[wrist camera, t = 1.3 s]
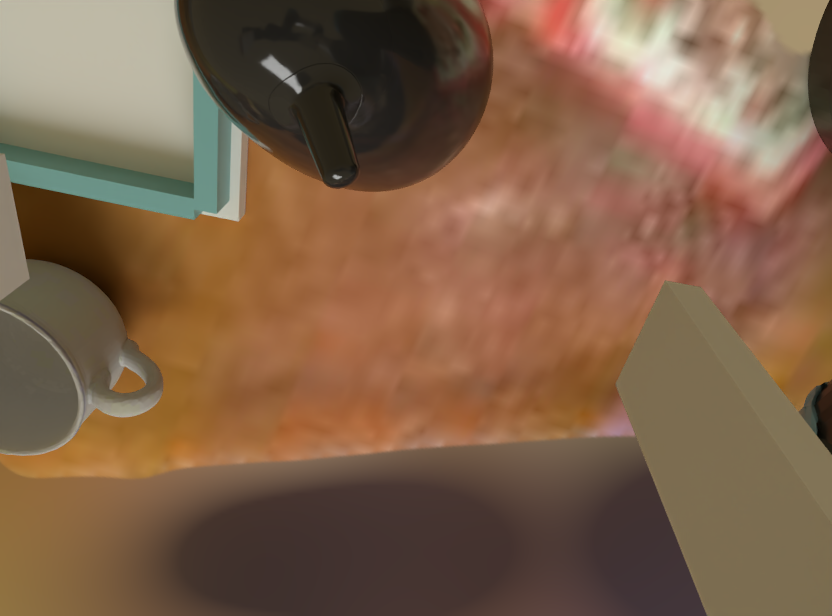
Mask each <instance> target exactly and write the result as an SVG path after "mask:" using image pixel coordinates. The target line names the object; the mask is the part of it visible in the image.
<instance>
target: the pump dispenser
mask: <svg viewBox="0 0 832 616" xmlns="http://www.w3.org/2000/svg"><path fill="white" fill-rule="evenodd" d="M174 13H175V20H176V25H177V29H178V33H179V37H180V40H181V43H182V46H183V49H184V52H185V54H186V57H187V59H188V61H189V63H190V66H191V68H192V70H193V71H194V73H195V75H196V77H197V79H198V80H199V82H200V84H201V85H202V87H203V88H204V90H205V91H206V93H207V94H208V95H209V97H210V98H211V99H212V101H213V102H214V103H215V104H216V105H217V107H218V108H219V109H220V110H221V111H222V112H223V113H224V115H225V116H226V117H227V118H228V119H229V120H230V121H231V122H232V123H233V124H234V125H235V126H236V127H237V128H239V129H240V130H241V131H242V132H243V133H244V134H245V135H247V136H248V137H249V138H250V139H251V140H253V141H254V142H255V143H256V144H258V145H259V146H260V147H261V148H263V149H264V150H265V151H267V152H268V153H270V154H271V155H272V156H274V157H275V158H277V159H278V160H280V161H281V162H283V163H285V164H286V165H288V166H290V167H291V168H293V169H295V170H297V171H299V172H301V173H303V174H305V175H307V176H309V177H312V178H314V179H317V180H319V181H322V182H324V184H325V185H327V186H328V187H330V188H335V189H340V188H345V189H349V190H355V191H364V192H381V191H391V190H397V189H401V188H405V187H408V186H411V185H414V184H417V183H419V182H421V181H423V180H425V179H427V178H429V177H431V176H432V175H434V174H436V173H437V172H439V171H440V170H441V169H443V168H444V167H445V166H446V165H448V164H449V163H450V162H451V161H452V160H453V159H454V158H455V157H456V156H457V155H458V154H459V153H460V152H461V150H462V149H463V148H464V147H465V145H466V144H467V143H468V141H469V140H470V138H471V137H472V135H473V134H474V132H475V130H476V128H477V126H478V125H479V123H480V120H481V118H482V116H483V113H484V111H485V108H486V105H487V102H488V98H489V94H490V90H491V84H492V76H493V47H492V39H491V34H490V29H489V25H488V22H487V19H486V16H485V13H484V10H483V8H482V6H481V3H480V1H479V0H174Z"/></svg>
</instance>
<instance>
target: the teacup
mask: <svg viewBox="0 0 832 616" xmlns="http://www.w3.org/2000/svg"><path fill="white" fill-rule="evenodd" d="M26 262H27V267H28V272H29V277H30V279H28V280H27V281H26V282H25V283H23V284H22V285H21V286H19V287H18V288H17V289H15V290H14V291H13V292H11V293H10V294H9V295H7V296H6V297H5V298H3V299H2V300H1V301H0V453H3V454H7V455H10V454H13V455H22V456H25V455H38V454H43V453H47V452H49V451H52V450H55V449H57V448H59V447H61V446H63V445H64V444H66V443H67V442H68V441H69V440H71V439H72V438H73V437H74V435H75V434H76V433H77V431H78V430H79V428H80V426H81V424H82V423H83V422H84V421H85V419H86V418H87V417H88V416H89V415H90V414H91V413H92V412H93V411H94V409H95V408H98V409H99V410H101V411H102V412H103V413H105V414H108V415H111V416H116V417H131V416H135V415H139V414H141V413H144V412H146V411H148V410H149V409H151V408H152V407H153V406H154V405H155V404H156V403H157V402H158V401H159V399H160V398H161V395H162V392H163V377H162V374H161V372H160V369H159V368H158V366H157V365H156V364H155V363H154V362H153V361H152V360H151V359H150V358H149V357H147V356H146V355H145V354H143V353H142V352H141V351H139V346H138V345H137V343H136V342H134V341H133V340H130V339H128V338H127V333H126V329H125V326H124V323H123V320H122V318H121V316H120V314H119V312H118V311H117V309H116V307H115V306H114V304H113V303H112V302H111V300H110V299H109V298H108V296H107V295H106V294H105V293H104V292H103V291H102V290H101V289H99V288H98V287H97V286H96V285H95V284H93V283H92V282H91V281H90V280H88V279H87V278H85V277H84V276H82V275H80V274H79V273H77V272H75V271H73V270H71V269H69V268H66V267H64V266H61V265H58V264H55V263H52V262H47V261H42V260H33V259H26ZM124 366H125V367H127V368H129V369H130V370H132V371H134V372H135V373H137V374H138V375H139V376H140V377H141V378H142V379H143V380H144V381H145V383H146V386H145V387H144V388H142V389H140V390H138V391H136V392H132V393H118V392H115V391H112V390H111V389H112V388H113V386H114V385H115V384H116V382H117V380H118V379H119V377H120V375H121V373H122V371H123V369H124Z"/></svg>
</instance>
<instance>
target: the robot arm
mask: <svg viewBox="0 0 832 616" xmlns="http://www.w3.org/2000/svg"><path fill="white" fill-rule="evenodd" d="M808 90H809V102H810V108H811V113H812V117H813V120H814V123H815V126H816V128H817V131H818V133H819V135H820V137H821V139H822V140H823V142H824V144H825V145H826V146H827V148H828V149H829V151H830V152H831V153H832V0H830V1H829V3H828V5H827V7H826V9H825V11H824V14H823V17H822V19H821V21H820V24H819V28H818V31H817V33H816V37H815V41H814V44H813V49H812V54H811V59H810V66H809V79H808ZM28 279H30V277H29V272H28V267H27V262H26V257H25V252H24V247H23V242H22V237H21V232H20V227H19V222H18V217H17V212H16V207H15V202H14V197H13V192H12V187H11V182H10V177H9V172H8V167H7V162H6V157H5V154H3V153H0V301H1V300H2V299H3V298H5V297H6V296H7V295H9V294H10V293H11V292H13V291H14V290H15V289H17V288H18V287H19V286H21V285H22V284H23V283H25V282H26V281H27V280H28ZM616 387H617V389H618V392H619V394H620V397H621V400H622V402H623V405H624V407H625V410H626V412H627V415H628V417H629V420H630V422H631V425H632V427H633V430H634V432H635V435H636V437H637V440H638V442H639V445H640V447H641V450H642V452H643V455H644V457H645V460H646V462H647V465H648V467H649V470H650V473H651V475H652V478H653V480H654V483H655V485H656V488H657V490H658V493H659V495H660V498H661V500H662V503H663V505H664V508H665V510H666V513H667V515H668V518H669V520H670V523H671V525H672V528H673V531H674V533H675V535H676V538H677V541H678V543H679V546H680V548H681V551H682V553H683V556H684V558H685V561H686V563H687V566H688V568H689V571H690V573H691V576H692V578H693V581H694V584H695V586H696V589H697V591H698V594H699V596H700V599H701V601H702V604H703V606H704V608H705V611H706V614H707V616H832V380H831V381H830V382H825V383H823V384H822V385H819V386H816V387H815V388H814V389H813V390H812V391H811V392H810V393H809V394H808V396H807V397H806V400H805V404H804V407H803V408H802V409H801V410H800V411H799V412H798V411H797V410H796V408H795V407H794V406H793V405H792V403H791V402H790V401H789V399H788V398H787V397H786V396H785V394H784V393H783V392H782V390H781V389H780V388H779V387H778V385H777V384H776V383H775V381H774V380H773V379H772V378H771V376H770V375H769V374H768V372H767V371H766V370H765V369H764V367H763V366H762V365H761V364H760V362H759V361H758V360H757V358H756V357H755V356H754V355H753V353H752V352H751V351H750V349H749V348H748V347H747V346H746V344H745V343H744V342H743V340H742V339H741V338H740V337H739V335H738V334H737V333H736V331H735V330H734V329H733V328H732V326H731V325H730V324H729V322H728V321H727V320H726V319H725V317H724V316H723V315H722V313H721V312H720V311H719V310H718V308H717V307H716V306H715V304H714V303H713V302H712V301H711V299H710V298H709V297H708V296H707V294H706V293H705V292H704V290H703V289H702V288H701V287H697V286H691V285H686V284H681V283H676V282H670V281H665V282H664V284H663V286H662V288H661V290H660V292H659V294H658V296H657V299H656V301H655V303H654V305H653V307H652V309H651V311H650V313H649V315H648V317H647V319H646V322H645V324H644V326H643V328H642V330H641V332H640V334H639V336H638V338H637V340H636V342H635V345H634V347H633V349H632V351H631V353H630V355H629V357H628V359H627V361H626V363H625V365H624V368H623V370H622V372H621V374H620V376H619V378H618V380H617V382H616Z"/></svg>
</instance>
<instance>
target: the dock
mask: <svg viewBox="0 0 832 616" xmlns="http://www.w3.org/2000/svg"><path fill="white" fill-rule="evenodd" d="M0 153H3V154H5V157H6V162H7V167H8V172H9V177H10V182H13V183H18V184H23V185H27V186H32V187H37V188H42V189H47V190H52V191H57V192H62V193H66V194H71V195H76V196H81V197H86V198H91V199H96V200H100V201H105V202H110V203H115V204H120V205H125V206H130V207H135V208H139V209H144V210H149V211H154V212H159V213H164V214H169V215H174V216H178V217H183V218H188V219H193V220H194V219H195V218H197V217H198V216H199V215H200V214H205V215H210V216H215V217H219V218H224V219H229V220H234V221H239V220H240V219H241V218H242V217H243V216H244V214H245V204H246V181H247V158H248V136H247V135H245V134H244V133H243V132H242V131H241V130H240V129H239V128H237V127H236V126H235V125H234V124H233V123H232V122H231V121H230V120H229V119H228V118H227V117H226V116H225V115H224V113H223V112H222V111H221V110H220V109H219V108H218V107H217V105H216V104H215V103H214V102H213V101H212V99H211V98H210V97H209V95H208V94H207V93H206V91H205V90H204V88H203V87H202V85H201V84H200V82H199V80H198V79H197V77H196V75H195V73H194V71H193V70H192V68H191V66H190V63H189V61H188V59H187V57H186V54H185V52H184V49H183V46H182V43H181V40H180V37H179V33H178V29H177V25H176V20H175V13H174V0H0Z"/></svg>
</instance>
